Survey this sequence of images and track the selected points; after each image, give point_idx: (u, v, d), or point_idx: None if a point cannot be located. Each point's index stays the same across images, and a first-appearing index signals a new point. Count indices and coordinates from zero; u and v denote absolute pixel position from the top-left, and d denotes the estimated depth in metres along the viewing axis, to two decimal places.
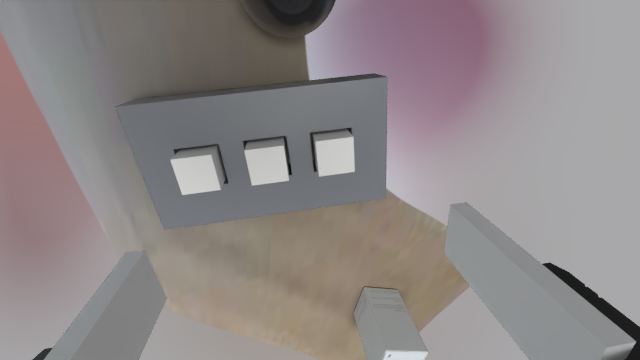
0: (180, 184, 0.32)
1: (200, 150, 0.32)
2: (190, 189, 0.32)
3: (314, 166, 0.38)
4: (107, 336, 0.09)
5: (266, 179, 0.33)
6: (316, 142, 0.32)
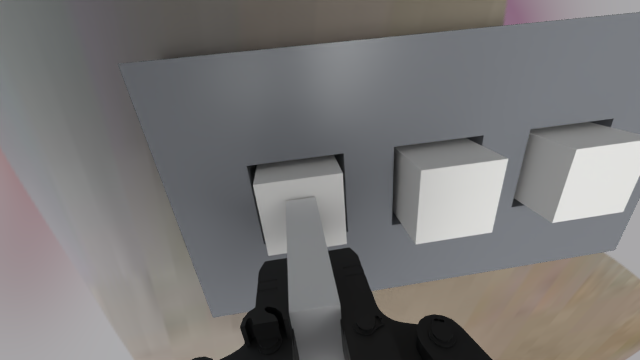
0: (267, 235, 0.15)
1: (305, 161, 0.15)
2: (286, 244, 0.15)
3: None
4: None
5: (448, 231, 0.15)
6: (577, 151, 0.14)
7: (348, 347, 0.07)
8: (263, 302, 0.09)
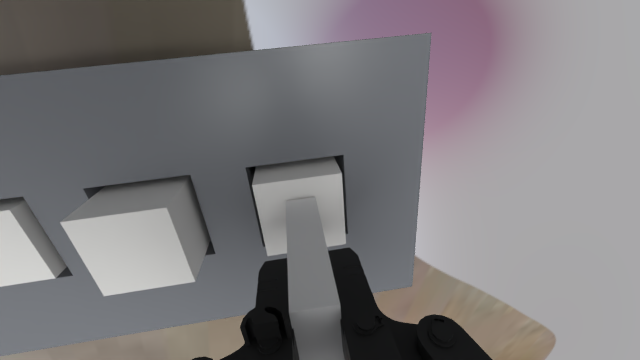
0: None
1: None
2: None
3: None
4: None
5: (138, 282, 0.14)
6: (254, 187, 0.14)
7: (348, 347, 0.07)
8: (263, 302, 0.09)
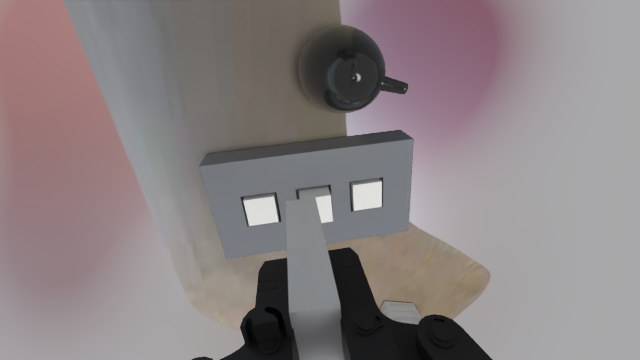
0: (248, 218, 0.41)
1: None
2: (255, 221, 0.42)
3: (350, 205, 0.45)
4: None
5: None
6: (353, 186, 0.41)
7: (348, 347, 0.07)
8: (263, 302, 0.09)
